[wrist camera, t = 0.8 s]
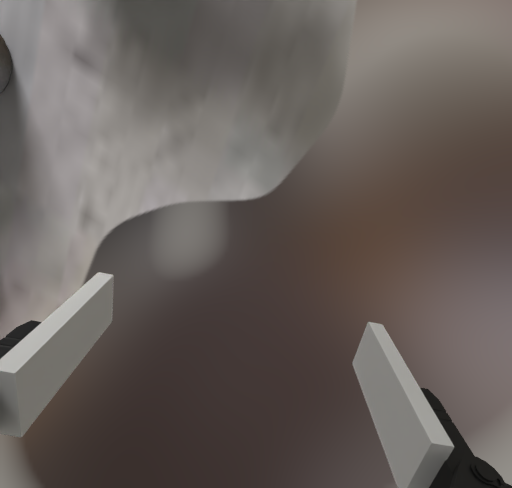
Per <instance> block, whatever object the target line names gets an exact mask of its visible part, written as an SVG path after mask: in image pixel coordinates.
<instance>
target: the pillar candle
mask: <svg viewBox="0 0 512 488" xmlns="http://www.w3.org/2000/svg"><path fill="white" fill-rule="evenodd" d="M11 70H12V65H11V57H10V54H9V50H8V48H7V46H6V44H5V41H4V39H3V38H2V37H1V35H0V93H1V92H2V91H3V90H4V88H5V87H6V85H7V84H8V82H9V79H10V75H11Z"/></svg>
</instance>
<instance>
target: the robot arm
mask: <svg viewBox="0 0 512 488" xmlns="http://www.w3.org/2000/svg"><path fill="white" fill-rule="evenodd" d="M113 280H114V276H113V275H110V274H105V273H99V272H98V273H97V274H96V275H95V276H94V277H92V278H91V279H90V280H89V281H88V282H87V283H86V284H85V285H83V286H82V287H81V288H80V289H79V290H78V291H77V292H76V293H74V294H73V295H72V296H71V297H70V298H69V299H68V300H66V301H65V302H64V303H63V304H62V305H61V306H60V307H59V308H57V309H56V310H55V311H54V312H53V313H52V314H51V315H50V316H48V317H47V318H46V319H45V320H44V321H43V322H37V321H29V322H27V323H25V324H23V325H20V326H18V327H16V328H15V329H14V330H13V331H11V332H10V333H9V334H8V335H7V336H6V337H5V338H3V339H2V340H0V434H4V435H10V436H16V437H22V436H23V435H24V433H25V432H26V431H27V430H28V428H29V427H30V426H31V425H32V423H33V422H34V421H35V419H36V418H37V417H38V416H39V414H40V413H41V411H42V410H43V409H44V408H45V407H46V405H47V404H48V403H49V401H50V400H51V399H52V398H53V396H54V395H55V394H56V392H57V391H58V390H59V389H60V387H61V386H62V385H63V383H64V382H65V381H66V380H67V378H68V377H69V376H70V374H71V373H72V372H73V371H74V369H75V368H76V367H77V365H78V364H79V363H80V362H81V360H82V359H83V358H84V356H85V355H86V354H87V353H88V351H89V350H90V349H91V347H92V346H93V345H94V344H95V342H96V341H97V340H98V339H99V337H100V336H101V334H102V333H103V332H104V331H105V329H106V328H107V327H108V326H109V324H110V323H111V322H112V309H113V282H114V281H113ZM352 364H353V367H354V370H355V373H356V375H357V378H358V381H359V384H360V386H361V389H362V391H363V394H364V397H365V400H366V402H367V405H368V408H369V411H370V414H371V416H372V419H373V422H374V425H375V427H376V430H377V433H378V436H379V438H380V441H381V444H382V446H383V449H384V452H385V455H386V457H387V460H388V463H389V465H390V468H391V471H392V474H393V476H394V479H395V482H396V485H397V487H398V488H512V486H511V485H509V484H506V483H505V482H504V481H503V479H502V477H501V476H500V475H499V474H498V472H497V471H496V470H495V469H494V468H493V467H492V466H490V465H489V464H488V463H487V462H485V461H483V460H481V459H480V458H478V457H475V456H474V455H473V453H472V452H471V450H470V448H469V447H468V445H467V444H466V442H465V441H464V439H463V437H462V436H461V434H460V433H459V431H458V429H457V428H456V426H455V425H454V423H452V420H451V418H450V417H449V415H448V414H447V413H446V410H445V409H444V407H443V406H442V404H441V403H440V401H439V400H438V399H437V398H436V397H435V396H434V395H433V394H432V393H431V392H430V391H429V390H428V389H424V388H420V387H419V386H418V384H417V382H416V381H415V379H414V377H413V375H412V374H411V372H410V370H409V369H408V367H407V365H406V364H405V362H404V360H403V358H402V357H401V355H400V353H399V352H398V350H397V348H396V347H395V345H394V343H393V342H392V340H391V338H390V337H389V335H388V333H387V332H386V330H385V328H384V326H383V325H382V324H378V323H372V322H368V323H367V326H366V329H365V331H364V334H363V337H362V339H361V342H360V344H359V347H358V350H357V352H356V355H355V358H354V360H353V363H352Z"/></svg>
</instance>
